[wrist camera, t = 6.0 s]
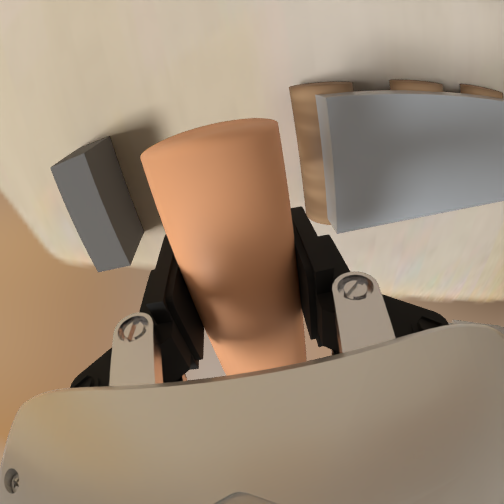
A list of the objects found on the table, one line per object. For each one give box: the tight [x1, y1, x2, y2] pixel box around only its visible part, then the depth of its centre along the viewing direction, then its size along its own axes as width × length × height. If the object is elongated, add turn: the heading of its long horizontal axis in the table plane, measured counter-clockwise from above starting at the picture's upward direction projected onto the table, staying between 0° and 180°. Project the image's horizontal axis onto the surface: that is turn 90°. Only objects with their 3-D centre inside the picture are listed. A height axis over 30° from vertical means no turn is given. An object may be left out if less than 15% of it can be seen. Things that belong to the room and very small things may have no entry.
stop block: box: [51, 136, 144, 272], centre depth 21 cm, size 3×9×5 cm, turn 10°
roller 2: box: [289, 82, 353, 225], centre depth 21 cm, size 10×4×4 cm, turn 10°
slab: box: [315, 90, 504, 234], centre depth 18 cm, size 18×9×2 cm, turn 100°
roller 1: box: [140, 118, 306, 376], centre depth 10 cm, size 10×4×4 cm, turn 10°
